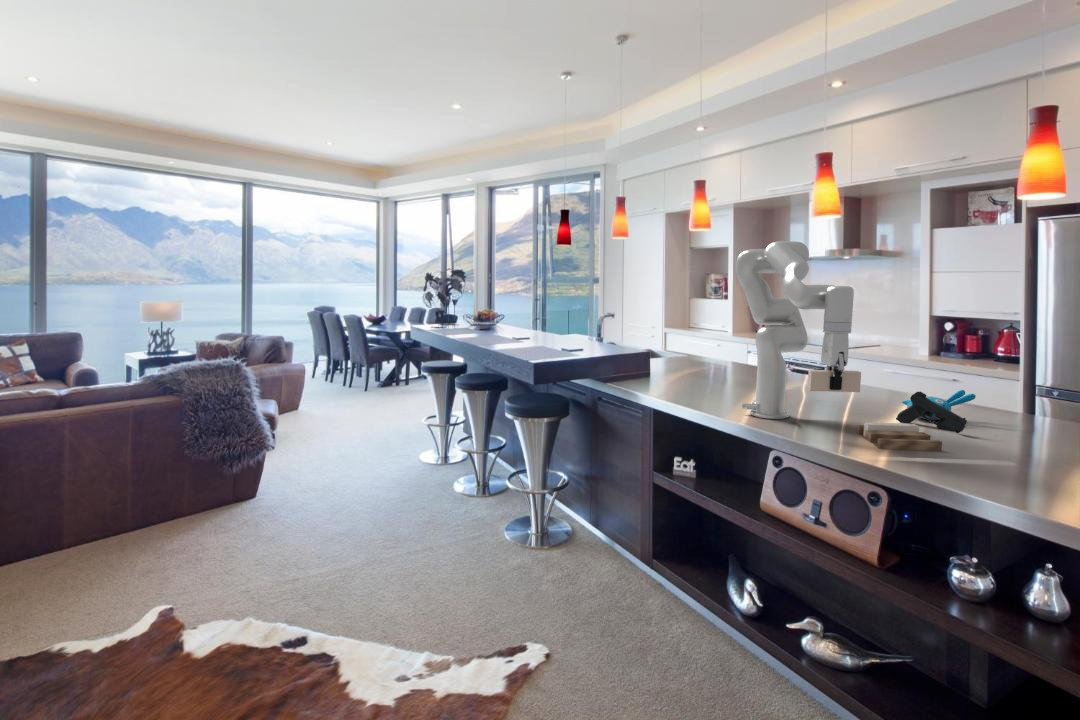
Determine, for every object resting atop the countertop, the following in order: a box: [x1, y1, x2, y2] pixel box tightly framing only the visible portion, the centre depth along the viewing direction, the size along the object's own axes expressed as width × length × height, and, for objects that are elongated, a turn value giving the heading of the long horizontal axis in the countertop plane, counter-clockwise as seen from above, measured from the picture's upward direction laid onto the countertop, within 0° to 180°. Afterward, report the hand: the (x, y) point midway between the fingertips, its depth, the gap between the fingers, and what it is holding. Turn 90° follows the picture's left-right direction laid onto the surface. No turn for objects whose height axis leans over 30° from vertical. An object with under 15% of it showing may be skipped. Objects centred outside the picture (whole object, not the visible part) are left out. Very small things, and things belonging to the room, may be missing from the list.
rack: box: [856, 424, 943, 452], centre depth 178 cm, size 16×17×4 cm
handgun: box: [896, 391, 968, 434], centre depth 194 cm, size 2×17×12 cm, turn 41°
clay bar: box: [807, 369, 862, 393], centre depth 184 cm, size 14×3×6 cm, turn 82°
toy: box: [901, 389, 977, 421], centre depth 208 cm, size 20×19×10 cm
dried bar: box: [863, 421, 920, 436], centre depth 182 cm, size 14×3×4 cm, turn 82°
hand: (833, 388), depth 184 cm, fingers closed on clay bar, 3 cm apart
